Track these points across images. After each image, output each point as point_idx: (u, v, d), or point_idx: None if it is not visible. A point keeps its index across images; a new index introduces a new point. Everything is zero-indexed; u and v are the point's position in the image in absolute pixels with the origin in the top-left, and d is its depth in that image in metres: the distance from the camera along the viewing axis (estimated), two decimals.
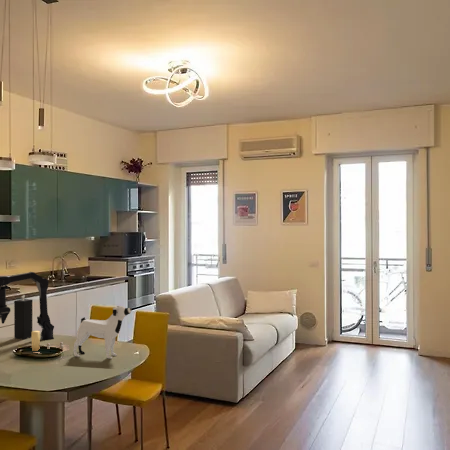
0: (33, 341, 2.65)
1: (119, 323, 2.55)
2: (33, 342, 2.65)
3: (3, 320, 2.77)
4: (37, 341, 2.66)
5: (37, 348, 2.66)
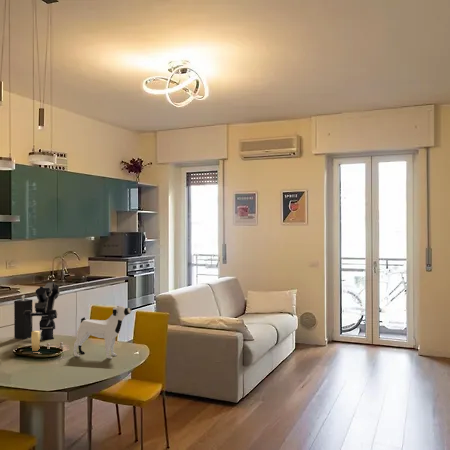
0: (33, 341, 2.65)
1: (119, 323, 2.55)
2: (33, 342, 2.65)
3: (48, 323, 2.77)
4: (37, 341, 2.66)
5: (37, 348, 2.66)
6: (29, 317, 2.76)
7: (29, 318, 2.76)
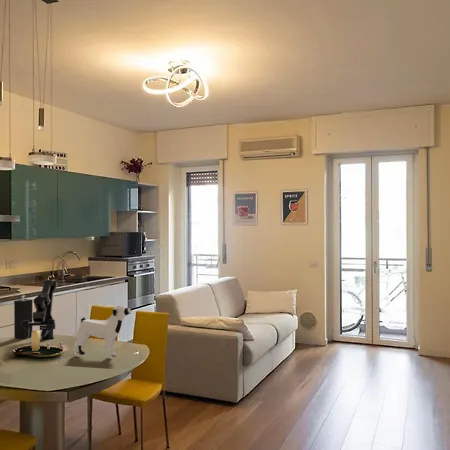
0: (33, 341, 2.65)
1: (119, 323, 2.55)
2: (33, 342, 2.65)
3: (46, 333, 2.71)
4: (37, 341, 2.66)
5: (37, 348, 2.66)
6: (27, 327, 2.70)
7: (27, 328, 2.70)
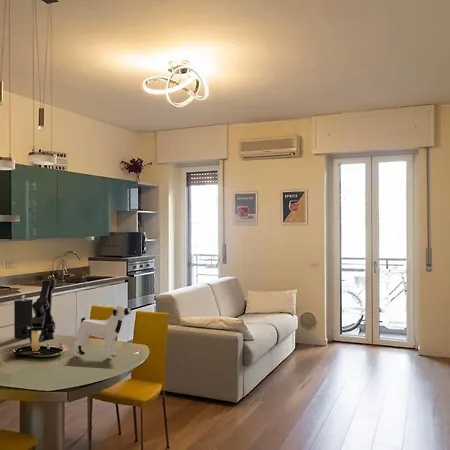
0: (33, 341, 2.65)
1: (119, 323, 2.55)
2: (33, 342, 2.65)
3: (41, 338, 2.68)
4: (37, 341, 2.66)
5: (37, 348, 2.66)
6: (29, 332, 2.68)
7: (29, 333, 2.67)
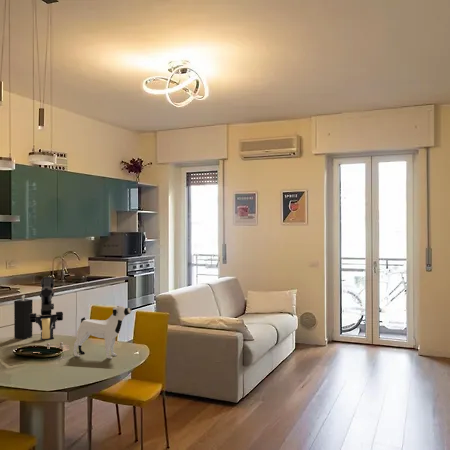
0: (44, 329, 2.66)
1: (119, 323, 2.55)
2: (44, 329, 2.66)
3: (51, 326, 2.70)
4: (48, 328, 2.67)
5: (48, 335, 2.67)
6: (39, 320, 2.69)
7: (39, 321, 2.68)
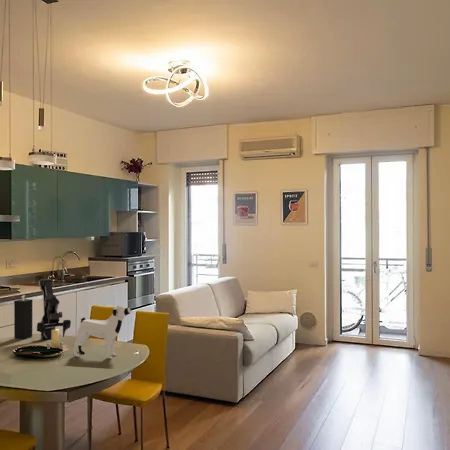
0: (54, 339, 2.69)
1: (119, 323, 2.55)
2: (54, 340, 2.69)
3: (64, 333, 2.73)
4: (58, 339, 2.70)
5: (58, 346, 2.70)
6: (44, 329, 2.69)
7: (44, 330, 2.69)
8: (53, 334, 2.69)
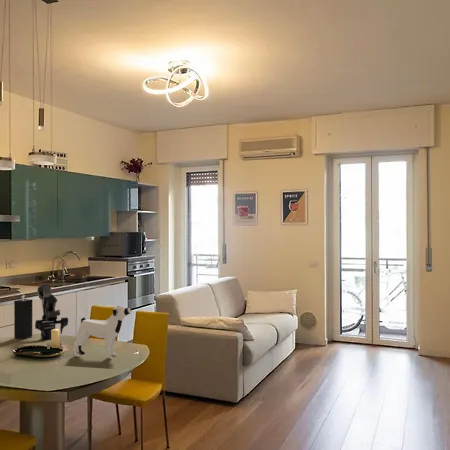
0: (54, 339, 2.69)
1: (119, 323, 2.55)
2: (54, 340, 2.69)
3: None
4: (58, 339, 2.70)
5: (58, 346, 2.70)
6: (42, 326, 2.77)
7: (42, 327, 2.77)
8: (53, 334, 2.69)
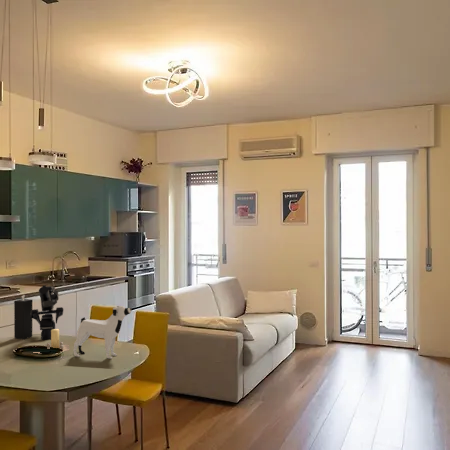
0: (54, 339, 2.69)
1: (119, 323, 2.55)
2: (54, 340, 2.69)
3: None
4: (57, 339, 2.70)
5: (57, 346, 2.70)
6: (38, 315, 2.80)
7: (38, 316, 2.80)
8: (53, 334, 2.69)
